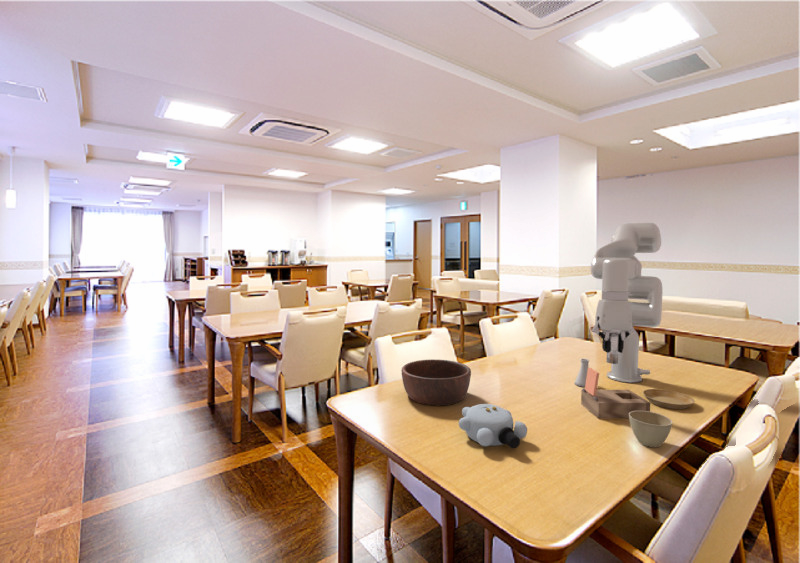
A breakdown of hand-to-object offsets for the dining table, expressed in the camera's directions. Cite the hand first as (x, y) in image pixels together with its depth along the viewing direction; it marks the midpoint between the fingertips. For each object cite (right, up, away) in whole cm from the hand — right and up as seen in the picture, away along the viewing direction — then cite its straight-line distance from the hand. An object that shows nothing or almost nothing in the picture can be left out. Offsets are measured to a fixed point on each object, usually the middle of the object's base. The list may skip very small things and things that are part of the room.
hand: (612, 351), depth 131 cm
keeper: (-8, -9, -2) cm, 13 cm away
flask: (+2, -18, +24) cm, 30 cm away
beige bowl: (-3, -21, -23) cm, 32 cm away
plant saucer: (+22, -19, +5) cm, 30 cm away
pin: (0, -4, 0) cm, 4 cm away
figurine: (-45, -21, -20) cm, 53 cm away
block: (0, -19, -2) cm, 19 cm away
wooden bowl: (-57, -19, +13) cm, 62 cm away
